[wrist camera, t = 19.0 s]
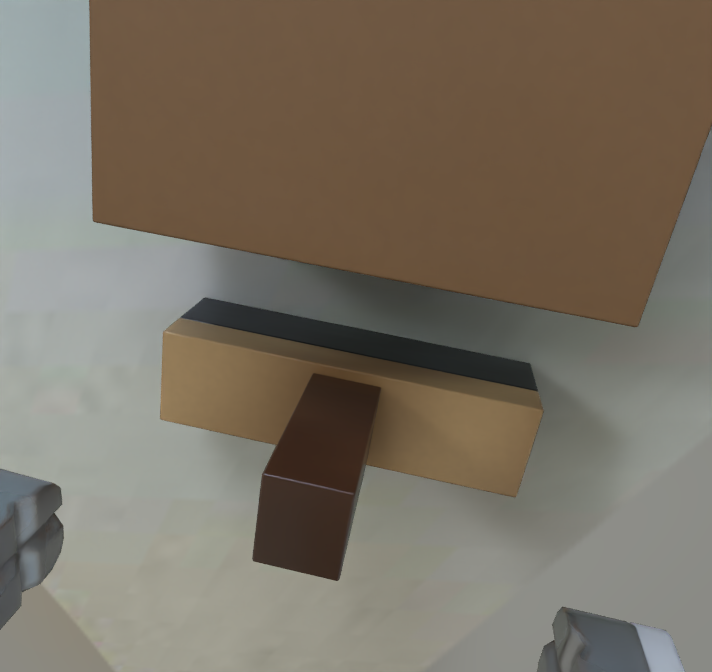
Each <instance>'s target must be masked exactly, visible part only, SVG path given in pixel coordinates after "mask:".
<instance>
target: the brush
mask: <svg viewBox="0 0 712 672" xmlns="http://www.w3.org/2000/svg"><path fill="white" fill-rule="evenodd" d="M543 412H544V410H543V406H542V403H541V400H540V396H539V393H538V389H537V386H536V382H535V379H534V375H533V372H532V368H531V365H530V364H529V363H525V362H520V361H515V360H510V359H505V358H500V357H495V356H490V355H486V354H481V353H476V352H471V351H466V350H461V349H456V348H451V347H446V346H441V345H436V344H431V343H426V342H421V341H416V340H411V339H406V338H402V337H397V336H392V335H387V334H382V333H377V332H372V331H367V330H362V329H357V328H352V327H347V326H342V325H337V324H332V323H327V322H322V321H317V320H313V319H308V318H303V317H298V316H293V315H288V314H283V313H278V312H273V311H268V310H263V309H258V308H253V307H248V306H243V305H238V304H233V303H229V302H224V301H219V300H214V299H209V298H203V299H202V300H201V301H200V302H199V303H197V304H196V305H195V306H194V307H192V308H191V309H190V310H189V311H188V312H186V313H185V314H184V315H183V316H181V318H179V319H178V320H177V321H175V322H174V323H173V324H172V325H170V326H169V327H168V328H167V329H166V330H164V331H163V349H162V379H161V409H160V419H161V420H165V421H170V422H174V423H179V424H183V425H188V426H192V427H197V428H201V429H206V430H210V431H215V432H220V433H224V434H229V435H233V436H238V437H242V438H247V439H251V440H256V441H261V442H265V443H270V444H274V445H277V446H276V448H275V450H274V452H273V454H272V455H271V457H270V459H269V461H268V463H267V465H266V467H265V469H264V471H263V473H262V479H261V488H260V497H259V505H258V514H257V523H256V532H255V540H254V549H253V558H252V559H253V561H255V562H259V563H263V564H268V565H272V566H276V567H280V568H284V569H289V570H293V571H297V572H301V573H306V574H310V575H314V576H318V577H323V578H327V579H331V580H335V581H338V580H339V579H340V575H341V571H342V566H343V562H344V558H345V554H346V549H347V545H348V541H349V536H350V532H351V528H352V523H353V519H354V515H355V511H356V506H357V502H358V498H359V493H360V489H361V485H362V480H363V476H364V472H365V468H366V465H370V466H374V467H379V468H383V469H388V470H392V471H397V472H402V473H406V474H411V475H415V476H420V477H424V478H429V479H433V480H438V481H442V482H447V483H452V484H456V485H461V486H465V487H470V488H474V489H479V490H483V491H488V492H493V493H497V494H502V495H506V496H511V497H516V496H517V493H518V490H519V487H520V484H521V481H522V478H523V475H524V472H525V469H526V465H527V462H528V459H529V456H530V453H531V450H532V447H533V444H534V440H535V437H536V434H537V431H538V428H539V425H540V422H541V419H542V415H543Z"/></svg>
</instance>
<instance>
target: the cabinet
mask: <svg viewBox="0 0 712 672" xmlns="http://www.w3.org/2000/svg"><path fill="white" fill-rule="evenodd" d="M89 10H90V75H91V140H92V204H93V221H94V222H97V223H102V224H107V225H112V226H117V227H122V228H127V229H133V230H138V231H143V232H148V233H153V234H158V235H163V236H169V237H174V238H179V239H184V240H189V241H194V242H199V243H205V244H210V245H215V246H220V247H225V248H230V249H235V250H241V251H246V252H251V253H256V254H261V255H266V256H271V257H277V258H282V259H287V260H292V261H297V262H302V263H307V264H313V265H318V266H323V267H328V268H333V269H338V270H343V271H349V272H354V273H359V274H364V275H369V276H374V277H379V278H385V279H390V280H395V281H400V282H405V283H410V284H415V285H421V286H426V287H431V288H436V289H441V290H446V291H451V292H457V293H462V294H467V295H472V296H477V297H482V298H487V299H493V300H498V301H503V302H508V303H513V304H518V305H523V306H529V307H534V308H539V309H544V310H549V311H554V312H559V313H565V314H570V315H575V316H580V317H585V318H590V319H595V320H601V321H606V322H611V323H616V324H621V325H626V326H631V327H637V326H638V325H639V322H640V320H641V317H642V314H643V312H644V309H645V306H646V303H647V301H648V298H649V295H650V292H651V290H652V287H653V284H654V281H655V279H656V276H657V273H658V271H659V268H660V265H661V262H662V260H663V257H664V254H665V251H666V249H667V246H668V243H669V241H670V238H671V235H672V232H673V230H674V227H675V224H676V221H677V219H678V216H679V213H680V210H681V208H682V205H683V202H684V200H685V197H686V194H687V191H688V189H689V186H690V183H691V180H692V178H693V175H694V172H695V170H696V167H697V164H698V161H699V159H700V156H701V153H702V150H703V148H704V145H705V142H706V140H707V137H708V134H709V131H710V129H711V126H712V0H89Z"/></svg>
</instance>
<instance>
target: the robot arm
mask: <svg viewBox="0 0 712 672" xmlns="http://www.w3.org/2000/svg"><path fill="white" fill-rule="evenodd" d="M61 505H62V496H61V488H60V487H59V486H57V485H56V484H54V483H51V482H47V481H44V480H40V479H36V478H33V477H29V476H25V475H22V474H18V473H14V472H10V471H7V470H3V469H0V630H1V628H2V627H3V626H4V625H5V624H6V622H7V621H8V620H9V619H10V618H11V617H12V616H13V615H14V614H15V612H16V611H17V610H18V609H19V608H20V606H21V601H22V592H24V591H26V590H28V589H30V588H32V587H34V586H37V585H39V584H41V582H42V581H43V580H44V579H45V578H46V576H47V575H48V574H49V573H50V572H51V570H52V569H53V567H54V565H55V563H56V561H57V559H58V557H59V555H60V553H61V549H62V544H63V539H64V531H63V525H62V523H61V522H60V520H59V519H58V518H57V516H56V515H55V513H54V512H55V511H56V510H57V509H58V508H59V507H60V506H61ZM552 626H553V633H554V639H555V640H554V641H552V642H550V643H548V644H547V645H545V646H544V648H543V650H542V653H541V656H540V659H539V662H538V669H537V672H685V670H684V667H683V665H682V662H681V660H680V657H679V655H678V653H677V650H676V647H675V645H674V642H673V640H672V637H671V636H670V634H669V633H668V632H667V631H666V630H663V629H658V628H655V627H650V626H646V625H641V624H637V623H632V622H630V623H628V622H626V621H622V620H618V619H613V618H609V617H605V616H601V615H597V614H592V613H588V612H584V611H579V610H575V609H571V608H566V607H562V608H561V609H560V610H559V611H558V612H557V614H556V617H555V619H554V622H553V624H552Z"/></svg>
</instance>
